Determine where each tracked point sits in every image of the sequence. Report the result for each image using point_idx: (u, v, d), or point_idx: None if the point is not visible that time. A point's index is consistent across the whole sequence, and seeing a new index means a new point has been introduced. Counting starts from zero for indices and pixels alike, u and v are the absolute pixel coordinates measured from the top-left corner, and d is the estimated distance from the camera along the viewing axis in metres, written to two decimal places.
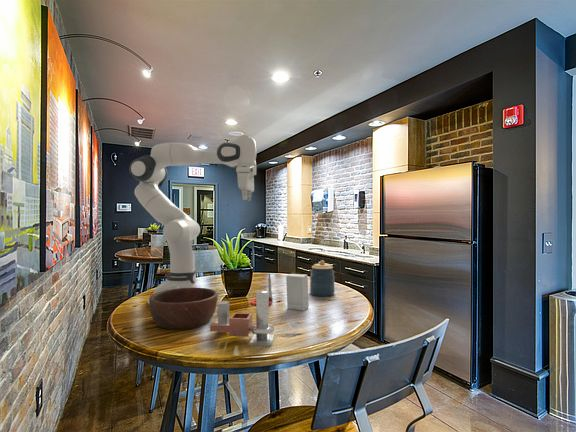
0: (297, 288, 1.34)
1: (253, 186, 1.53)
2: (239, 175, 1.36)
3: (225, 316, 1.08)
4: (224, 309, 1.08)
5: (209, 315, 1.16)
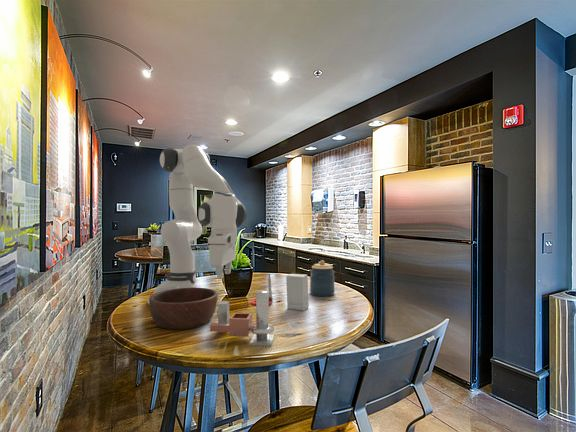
0: (297, 288, 1.34)
1: (234, 253, 1.17)
2: (212, 249, 1.01)
3: (225, 316, 1.08)
4: (224, 309, 1.08)
5: (209, 315, 1.16)
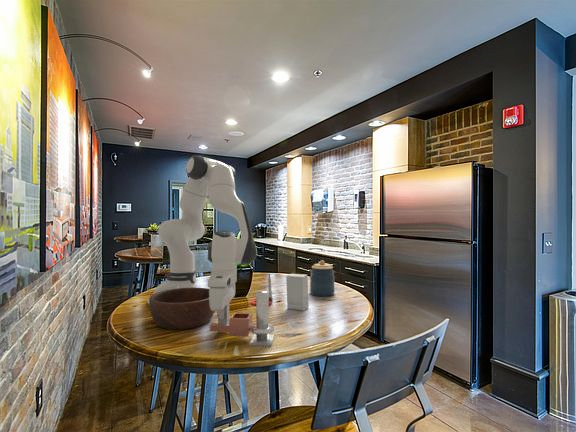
0: (297, 288, 1.34)
1: (234, 290, 1.17)
2: (212, 293, 1.00)
3: (225, 316, 1.08)
4: (224, 309, 1.08)
5: (209, 315, 1.16)
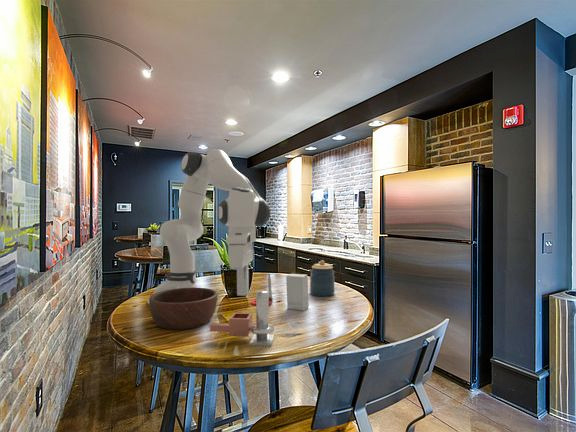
0: (297, 288, 1.34)
1: (251, 253, 1.09)
2: (231, 250, 0.92)
3: (245, 278, 1.00)
4: None
5: (209, 315, 1.16)
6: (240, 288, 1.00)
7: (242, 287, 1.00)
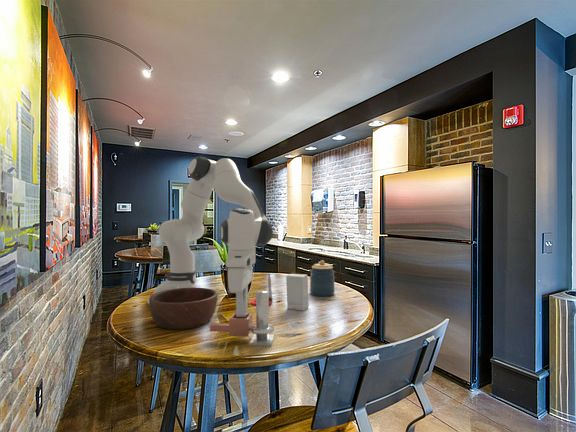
0: (297, 288, 1.34)
1: (251, 274, 1.09)
2: (231, 274, 0.92)
3: (244, 300, 1.00)
4: (243, 292, 1.00)
5: (209, 315, 1.16)
6: (239, 310, 1.00)
7: (241, 309, 1.00)
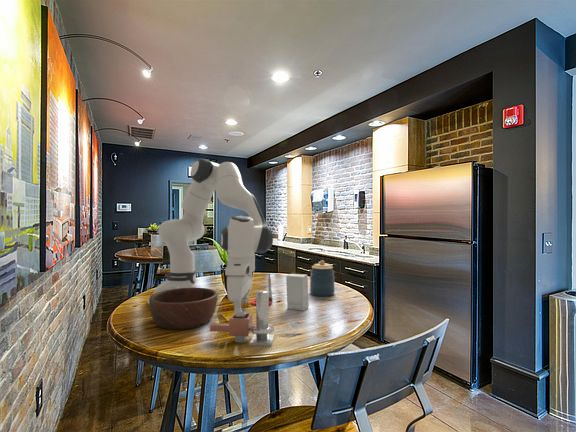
0: (297, 288, 1.34)
1: (251, 280, 1.09)
2: (230, 282, 0.92)
3: None
4: (242, 317, 1.00)
5: (209, 315, 1.16)
6: None
7: None
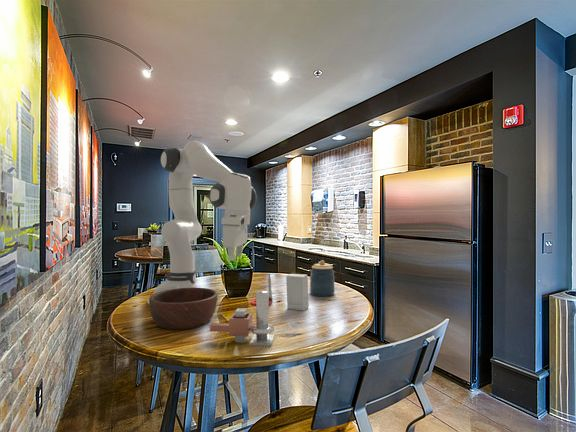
0: (297, 288, 1.34)
1: (246, 236, 1.16)
2: (225, 230, 1.00)
3: None
4: (242, 317, 1.00)
5: (209, 315, 1.16)
6: None
7: None
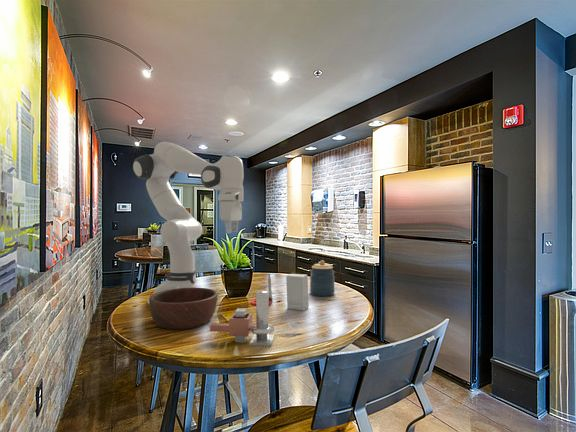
0: (297, 288, 1.34)
1: (240, 214, 1.28)
2: (222, 205, 1.12)
3: None
4: (242, 317, 1.00)
5: (209, 315, 1.16)
6: None
7: None
